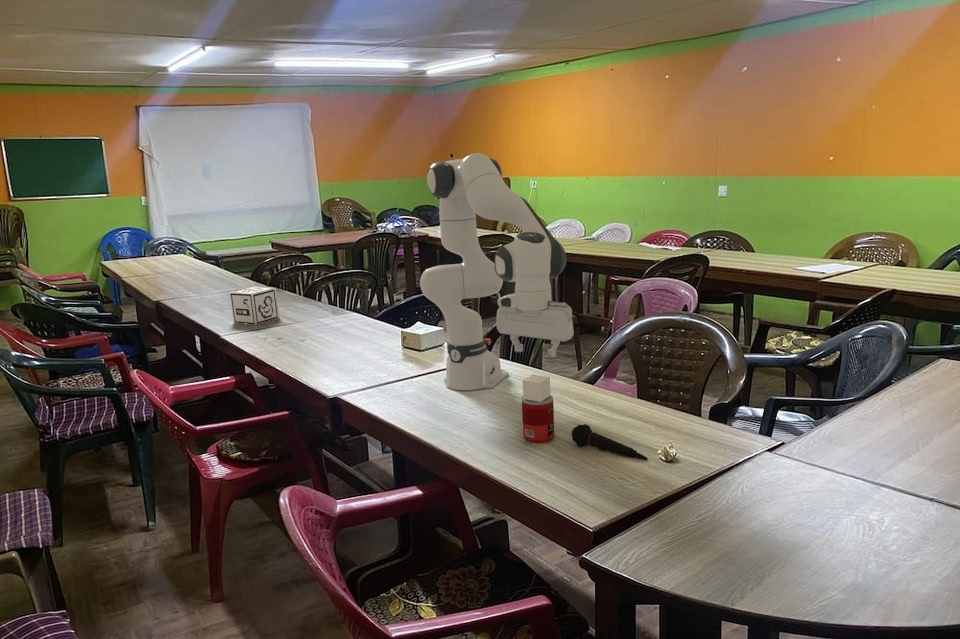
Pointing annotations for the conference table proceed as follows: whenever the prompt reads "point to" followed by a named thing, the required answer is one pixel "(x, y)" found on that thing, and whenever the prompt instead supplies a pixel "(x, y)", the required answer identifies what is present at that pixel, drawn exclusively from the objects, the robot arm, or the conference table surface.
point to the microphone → (602, 442)
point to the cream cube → (536, 388)
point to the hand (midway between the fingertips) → (535, 353)
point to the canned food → (538, 420)
